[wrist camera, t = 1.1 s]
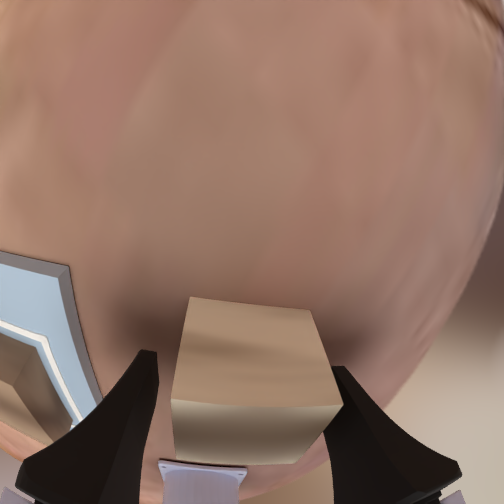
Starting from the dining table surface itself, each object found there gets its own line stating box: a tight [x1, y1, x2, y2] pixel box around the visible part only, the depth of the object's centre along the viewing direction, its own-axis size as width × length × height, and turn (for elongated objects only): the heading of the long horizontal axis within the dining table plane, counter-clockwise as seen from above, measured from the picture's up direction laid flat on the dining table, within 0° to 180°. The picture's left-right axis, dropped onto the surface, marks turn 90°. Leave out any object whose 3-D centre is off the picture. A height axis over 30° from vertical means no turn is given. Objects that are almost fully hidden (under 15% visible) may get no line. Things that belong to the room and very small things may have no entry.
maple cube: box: [171, 297, 343, 465], centre depth 10 cm, size 5×5×5 cm
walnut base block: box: [0, 333, 73, 446], centre depth 10 cm, size 8×8×3 cm
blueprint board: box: [0, 251, 103, 430], centre depth 12 cm, size 18×14×1 cm
